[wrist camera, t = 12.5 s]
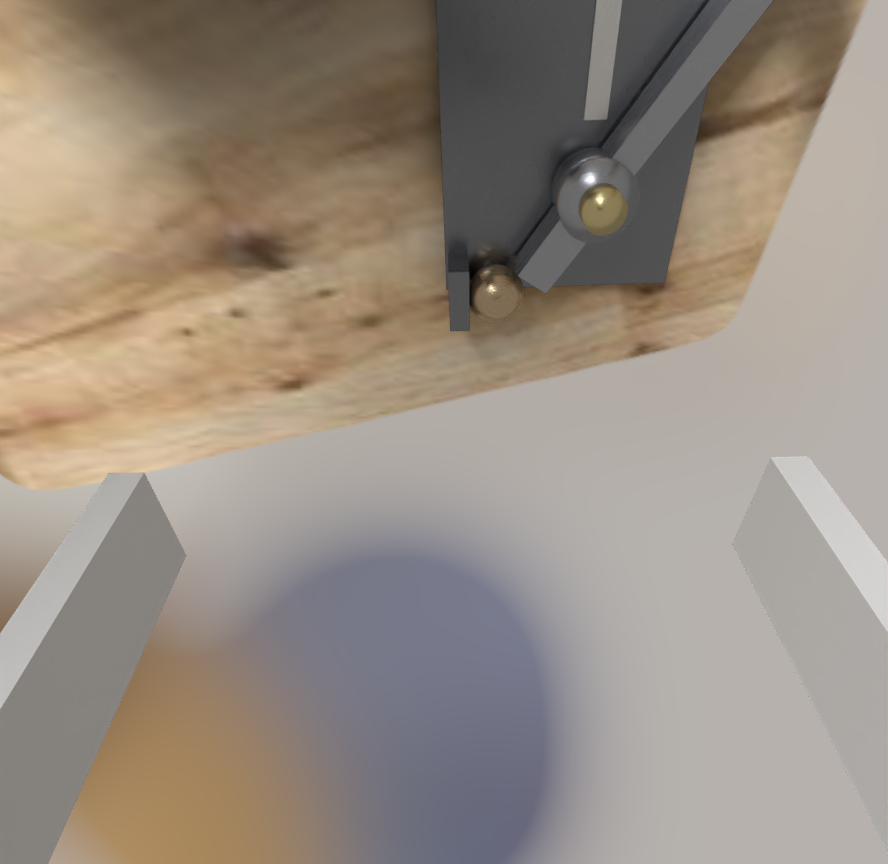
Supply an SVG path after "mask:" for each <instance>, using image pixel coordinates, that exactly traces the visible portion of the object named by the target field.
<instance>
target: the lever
mask: <svg viewBox="0 0 888 864" xmlns="http://www.w3.org/2000/svg"><path fill="white" fill-rule="evenodd" d="M772 1H773V0H710V1H709V2H708V3H707V5H706V6H705V7H704V9H703V10H702V11H701V13H700V14H699V15H698V17H697V18H696V20H695V21H694V22H693V24H692V25H691V26H690V28H689V29H688V30H687V32H686V33H685V35H684V36H683V37H682V39H681V40H680V41H679V43H678V44H677V45H676V47H675V48H674V49H673V51H672V52H671V54H670V55H669V56H668V58H667V59H666V60H665V62H664V63H663V64H662V66H661V67H660V68H659V70H658V71H657V73H656V74H655V75H654V77H653V78H652V79H651V81H650V82H649V83H648V85H647V86H646V88H645V89H644V90H643V92H642V93H641V94H640V96H639V97H638V98H637V100H636V101H635V102H634V104H633V105H632V107H631V108H630V109H629V111H628V112H627V113H626V115H625V116H624V117H623V119H622V120H621V122H620V123H619V124H618V126H617V127H616V128H615V130H614V131H613V132H612V134H611V135H610V136H609V138H608V139H607V141H606V142H605V143H604V145H603V146H602V147H601V148H597V147H592V148H585V149H582V150H579V151H577V152H575V153H574V154H572V155H571V156H569V157H568V158H567V159H566V160H565V161H564V162H563V163H562V164H561V165H560V167H559V168H558V170H557V172H556V174H555V176H554V179H553V182H552V188H551V197H552V202H553V207H552V208H551V209H550V211H549V212H548V214H547V215H546V216H545V218H544V219H543V220H542V222H541V223H540V225H539V226H538V227H537V229H536V230H535V231H534V233H533V234H532V235H531V237H530V238H529V240H528V241H527V242H526V244H525V245H524V246H523V248H522V249H521V251H520V252H519V253H518V255H517V256H516V257H515V259H514V262H515V266H516V271H517V275H518V276H519V277H520V278H522V279H523V280H525V281H526V282H528V283H530V284H531V285H533V286H534V287H536V288H538V289H539V290H541V291H542V292H544V293H545V294H546V293H547V292H548V291H549V289H550V288H551V287H552V286H553V284H554V283H555V282H556V281H557V279H558V278H559V277H560V276H561V274H562V273H563V272H564V271H565V269H566V268H567V267H568V266H569V264H570V263H571V262H572V261H573V259H574V258H575V257H576V256H577V254H578V253H579V252H580V251H581V249H582V248H583V247H584V246H585V244H586V243H599V242H603V241H607V240H609V239H612V238H613V237H615V236H617V235H618V234H620V233H621V232H622V231H623V230H624V229H625V228H626V227H627V226H628V225H629V224H630V222H631V221H632V219H633V218H634V216H635V214H636V211H637V208H638V205H639V197H640V193H639V186H638V183H637V180H636V178H635V177H634V176H635V174H636V173H637V172H638V170H639V169H640V168H641V167H642V165H643V164H644V163H645V162H646V160H647V159H648V158H649V157H650V155H651V154H652V153H653V152H654V150H655V149H656V148H657V147H658V145H659V144H660V143H661V141H662V140H663V139H664V138H665V136H666V135H667V134H668V133H669V131H670V130H671V129H672V128H673V126H674V125H675V124H676V123H677V121H678V120H679V119H680V117H681V116H682V115H683V114H684V112H685V111H686V110H687V109H688V107H689V106H690V105H691V104H692V102H693V101H694V100H695V99H696V97H697V96H698V95H699V94H700V92H701V91H702V90H703V88H704V87H705V86H706V85H707V83H708V82H709V81H710V80H711V78H712V77H713V76H714V75H715V73H716V72H717V71H718V70H719V68H720V67H721V66H722V64H723V63H724V62H725V61H726V59H727V58H728V57H729V56H730V54H731V53H732V52H733V51H734V49H735V48H736V47H737V46H738V44H739V43H740V42H741V41H742V39H743V38H744V37H745V35H746V34H747V33H748V32H749V30H750V29H751V28H752V27H753V25H754V24H755V23H756V22H757V20H758V19H759V18H760V17H761V15H762V14H763V13H764V11H765V10H766V9H767V8H768V6H769V5H770V4H771V3H772ZM599 183H609V184H612V185H614V186H615V187H616V188H617V189H618V190H619V191H620V192H621V194H622V195H623V196H624V197H625V199H626V201H627V204H628V213H627V217H626V219H625V221H624V223H623V224H622V225H621V227H620V228H619V229H617V230H616V231H614V232H613V233H611V234H608V235H595V234H593V233H591V232H589V231H588V230H587V228H586V227H585V225H584V223H583V222H582V220H581V218H580V216H579V211H578V206H579V202H580V199H581V197H582V195H583V194H584V193H585V191H586V190H587V189H589V188H590V187H592V186H593V185H596V184H599Z"/></svg>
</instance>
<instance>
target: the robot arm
mask: <svg viewBox="0 0 888 864" xmlns="http://www.w3.org/2000/svg"><path fill="white" fill-rule="evenodd" d="M733 546H734V548H735V550H736V552H737V554H738V556H739V558H740V560H741V562H742V564H743V566H744V568H745V570H746V572H747V574H748V576H749V578H750V580H751V582H752V584H753V586H754V588H755V590H756V592H757V594H758V596H759V598H760V600H761V602H762V604H763V606H764V608H765V610H766V612H767V614H768V616H769V618H770V620H771V622H772V624H773V626H774V628H775V630H776V632H777V634H778V636H779V638H780V640H781V642H782V644H783V646H784V648H785V650H786V652H787V654H788V656H789V658H790V660H791V662H792V664H793V666H794V668H795V670H796V672H797V674H798V676H799V678H800V680H801V682H802V684H803V686H804V688H805V690H806V692H807V694H808V696H809V698H810V700H811V702H812V704H813V706H814V708H815V710H816V712H817V714H818V716H819V718H820V720H821V722H822V724H823V726H824V728H825V730H826V732H827V734H828V736H829V738H830V740H831V742H832V744H833V746H834V748H835V750H836V752H837V754H838V756H839V758H840V760H841V762H842V764H843V766H844V768H845V770H846V772H847V774H848V776H849V778H850V780H851V782H852V784H853V786H854V788H855V790H856V792H857V794H858V796H859V798H860V800H861V802H862V804H863V806H864V808H865V810H866V812H867V814H868V816H869V818H870V820H871V822H872V824H873V826H874V828H875V830H876V832H877V834H878V836H879V838H880V840H881V842H882V844H883V846H884V848H885V850H886V852H887V854H888V562H887V561H886V560H885V558H884V557H883V556H882V555H881V553H880V552H879V550H878V549H877V548H876V546H875V545H874V544H873V542H872V541H871V540H870V538H869V537H868V536H867V534H866V533H865V532H864V530H863V529H862V528H861V526H860V525H859V524H858V522H857V521H856V520H855V518H854V517H853V516H852V514H851V513H850V511H849V510H848V509H847V507H846V506H845V505H844V504H843V502H842V501H841V500H840V498H839V497H838V495H837V494H836V493H835V491H834V490H833V489H832V487H831V486H830V485H829V483H828V482H827V481H826V480H825V478H824V477H823V476H822V474H821V473H820V472H819V470H818V469H817V467H815V465H814V463H813V462H812V461H811V459H810V458H809V457H808V456H801V457H770V460H769V462H768V464H767V466H766V469H765V471H764V473H763V476H762V478H761V480H760V482H759V485H758V487H757V489H756V491H755V494H754V496H753V498H752V501H751V503H750V505H749V508H748V510H747V512H746V514H745V516H744V519H743V521H742V523H741V526H740V528H739V530H738V533H737V535H736V537H735V539H734V541H733ZM185 557H186V554H185V552H184V550H183V548H182V546H181V544H180V542H179V540H178V538H177V536H176V534H175V532H174V530H173V528H172V526H171V524H170V522H169V520H168V518H167V516H166V514H165V512H164V510H163V509H162V507H161V505H160V503H159V501H158V499H157V497H156V495H155V493H154V491H153V489H152V487H151V485H150V483H149V481H148V479H147V477H146V475H145V473H109V474H108V475H107V477H106V478H105V480H104V481H103V483H102V484H101V486H100V487H99V489H98V490H97V492H96V493H95V495H94V496H93V498H92V499H91V500H90V502H89V504H88V505H87V506H86V508H85V509H84V511H83V512H82V514H81V515H80V517H79V518H78V520H77V521H76V523H75V524H74V525H73V527H72V528H71V530H70V531H69V533H68V534H67V536H66V537H65V539H64V540H63V542H62V543H61V545H60V546H59V548H58V549H57V551H56V552H55V554H54V555H53V557H52V558H51V559H50V561H49V563H48V564H47V566H46V567H45V568H44V570H43V571H42V573H41V574H40V576H39V577H38V579H37V580H36V582H35V583H34V585H33V586H32V588H31V589H30V591H29V592H28V593H27V595H26V596H25V598H24V599H23V601H22V602H21V604H20V605H19V607H18V608H17V610H16V611H15V613H14V614H13V616H12V617H11V619H10V620H9V621H8V623H7V624H6V626H5V627H4V629H3V630H2V632H1V633H0V864H48V862H49V860H50V858H51V856H52V853H53V851H54V849H55V847H56V845H57V842H58V840H59V837H60V836H61V833H62V831H63V829H64V827H65V824H66V822H67V820H68V818H69V816H70V813H71V811H72V809H73V807H74V804H75V802H76V800H77V798H78V796H79V793H80V791H81V789H82V787H83V784H84V782H85V780H86V778H87V776H88V773H89V771H90V769H91V767H92V764H93V762H94V760H95V758H96V755H97V753H98V751H99V749H100V746H101V744H102V742H103V740H104V738H105V735H106V733H107V731H108V729H109V726H110V724H111V722H112V720H113V717H114V715H115V713H116V711H117V709H118V706H119V704H120V702H121V700H122V698H123V695H124V693H125V691H126V689H127V686H128V684H129V681H130V680H131V677H132V675H133V673H134V671H135V669H136V666H137V664H138V662H139V660H140V657H141V655H142V653H143V651H144V648H145V646H146V644H147V642H148V640H149V637H150V635H151V633H152V631H153V628H154V626H155V624H156V622H157V619H158V617H159V615H160V613H161V611H162V608H163V606H164V604H165V602H166V599H167V597H168V595H169V593H170V591H171V588H172V586H173V584H174V582H175V579H176V577H177V575H178V573H179V570H180V568H181V566H182V564H183V562H184V559H185Z"/></svg>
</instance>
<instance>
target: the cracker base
mask: <svg viewBox="0 0 888 864" xmlns="http://www.w3.org/2000/svg"><path fill="white" fill-rule="evenodd" d="M709 1H710V0H436V13H437V40H438V68H439V95H440V122H441V150H442V177H443V205H444V232H445V259H446V287H447V290H449V311H450V331H470V307H471V309H472V310H473V312H474V313H475V314H476V315H477V316H478V317H479V318H481V319H483V320H485V321H488V322H493V323H497V322H503V321H506V320H508V319H510V318H511V317H513V316H514V315H515V314H516V313H517V312H518V311H519V309H520V307H521V306H522V303H523V300H524V287H534V286H533V285H531V284H530V283H528V282H526V281H525V280H523V279H522V278H520V277H519V276H518V275H517V271H516V266H515V262H514V259H515V257H516V256H517V255H518V253H519V252H520V251H521V249H522V248H523V246H524V245H525V244H526V242H527V241H528V240H529V238H530V237H531V235H532V234H533V233H534V231H535V230H536V229H537V227H538V226H539V225H540V223H541V222H542V220H543V219H544V218H545V216H546V215H547V214H548V212H549V211H550V209H551V208H552V207H553V202H552V197H551V188H552V182H553V179H554V176H555V174H556V172H557V170H558V168H559V167H560V165H561V164H562V163H563V162H564V161H565V160H566V159H567V158H568V157H569V156H571V155H572V154H574V153H575V152H577V151H579V150H582V149H585V148H592V147H597V148H601V147H602V146H603V145H604V143H605V142H606V141H607V139H608V138H609V136H610V135H611V134H612V132H613V131H614V130H615V128H616V127H617V126H618V124H619V123H620V122H621V120H622V119H623V117H624V116H625V115H626V113H627V112H628V111H629V109H630V108H631V107H632V105H633V104H634V102H635V101H636V100H637V98H638V97H639V96H640V94H641V93H642V92H643V90H644V89H645V88H646V86H647V85H648V83H649V82H650V81H651V79H652V78H653V77H654V75H655V74H656V73H657V71H658V70H659V68H660V67H661V66H662V64H663V63H664V62H665V60H666V59H667V58H668V56H669V55H670V54H671V52H672V51H673V49H674V48H675V47H676V45H677V44H678V43H679V41H680V40H681V39H682V37H683V36H684V35H685V33H686V32H687V30H688V29H689V28H690V26H691V25H692V24H693V22H694V21H695V20H696V18H697V17H698V15H699V14H700V13H701V11H702V10H703V9H704V7H705V6H706V5H707V3H708V2H709ZM708 84H709V82H708V83H707V85H706V86H705V87H704V88H703V90H702V91H701V92H700V94H699V95H698V96H697V97H696V99H695V100H694V101H693V102H692V104H691V105H690V106H689V107H688V109H687V110H686V111H685V112H684V114H683V115H682V116H681V117H680V119H679V120H678V121H677V123H676V124H675V125H674V126H673V128H672V129H671V130H670V131H669V133H668V134H667V135H666V136H665V138H664V139H663V140H662V141H661V143H660V144H659V145H658V147H657V148H656V149H655V150H654V152H653V153H652V154H651V155H650V157H649V158H648V159H647V160H646V162H645V163H644V164H643V165H642V167H641V168H640V169H639V170H638V172H637V173H636V174H635V176H634V177H635V178H636V180H637V183H638V186H639V193H640V197H639V205H638V208H637V211H636V214H635V216H634V218H633V219H632V221H631V222H630V224H629V225H628V226H627V227H626V228H625V229H624V230H623V231H622V232H621V233H620V234H618V235H617V236H615V237H613V238H612V239H609V240H607V241H603V242H599V243H586V244H585V246H584V247H583V248H582V249H581V251H580V252H579V253H578V254H577V256H576V257H575V258H574V259H573V261H572V262H571V263H570V264H569V266H568V267H567V268H566V269H565V271H564V272H563V273H562V274H561V276H560V277H559V278H558V279H557V281H556V282H555V283H554V284H553V286H576V285H606V284H637V283H664V282H665V278H666V273H667V269H668V264H669V260H670V255H671V251H672V246H673V242H674V237H675V233H676V228H677V224H678V219H679V215H680V210H681V206H682V201H683V197H684V192H685V188H686V183H687V179H688V174H689V170H690V165H691V161H692V156H693V152H694V147H695V143H696V138H697V133H698V129H699V124H700V120H701V115H702V111H703V106H704V102H705V97H706V93H707V88H708ZM578 211H579V216H580V218H581V220H582V222H583V223H584V225H585V227H586V228H587V230H588V231H589V232H591V233H593V234H595V235H608V234H611V233H613V232H614V231H616V230H617V229H619V228H620V227H621V225H622V224H623V223H624V221H625V219H626V217H627V213H628V204H627V201H626V199H625V197H624V196H623V195H622V194H621V192H620V191H619V190H618V189H617V188H616V187H615V186H614V185H612V184H609V183H599V184H596V185H593V186H592V187H590V188H589V189H587V190H586V191H585V193H584V194H583V195H582V197H581V199H580V202H579V206H578ZM469 305H470V307H469Z"/></svg>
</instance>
